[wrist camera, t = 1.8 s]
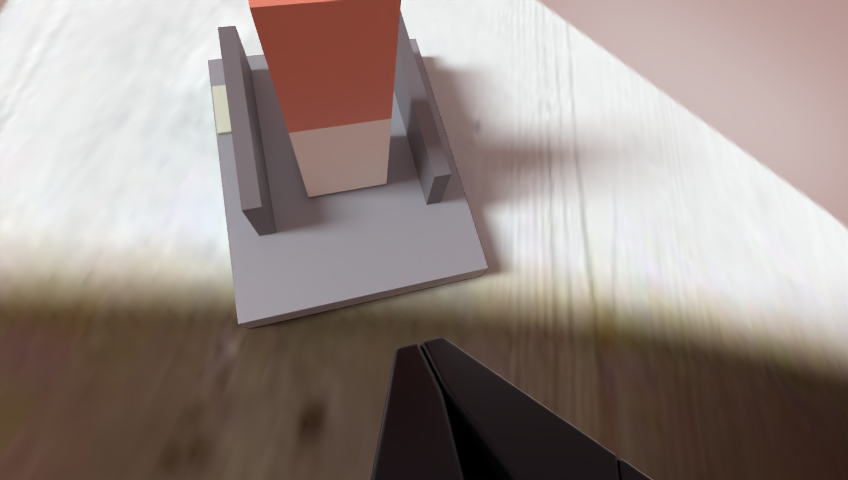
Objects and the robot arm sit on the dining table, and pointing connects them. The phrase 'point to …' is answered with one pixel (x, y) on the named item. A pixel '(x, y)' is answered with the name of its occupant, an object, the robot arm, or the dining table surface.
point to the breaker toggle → (333, 85)
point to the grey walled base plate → (335, 200)
